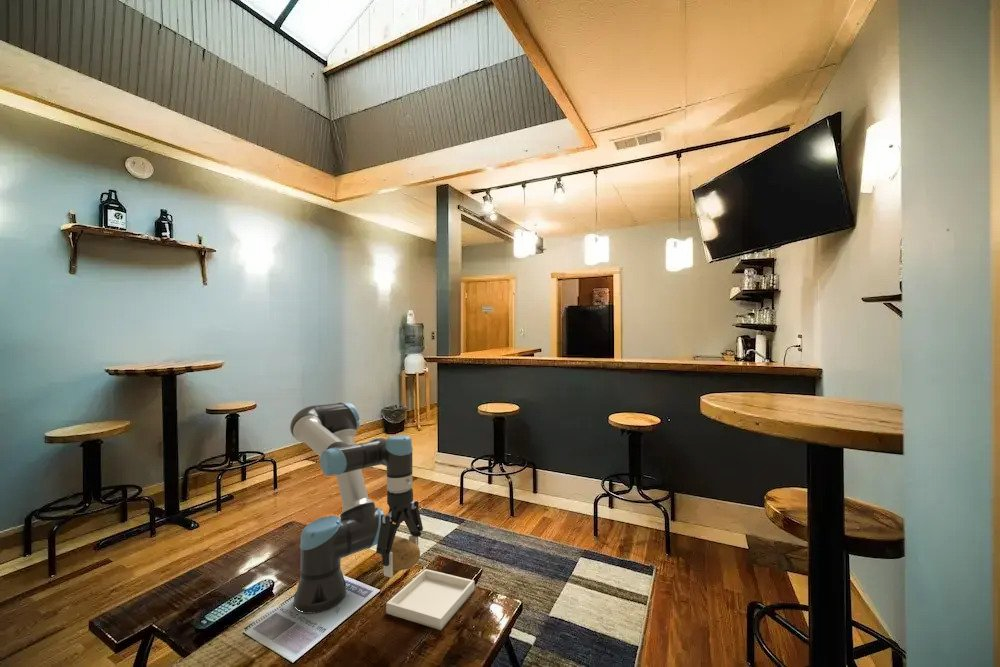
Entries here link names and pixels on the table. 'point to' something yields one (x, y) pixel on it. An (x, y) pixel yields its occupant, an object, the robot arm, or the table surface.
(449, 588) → the bin
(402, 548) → the potato
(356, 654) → the table surface
